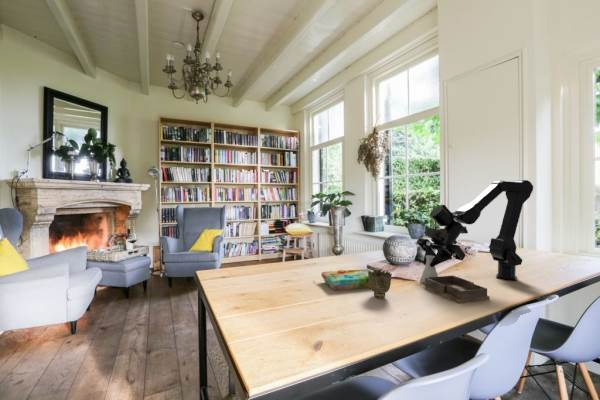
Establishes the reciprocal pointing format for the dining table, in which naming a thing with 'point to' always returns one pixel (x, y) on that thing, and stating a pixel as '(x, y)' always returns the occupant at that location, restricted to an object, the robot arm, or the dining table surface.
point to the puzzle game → (347, 279)
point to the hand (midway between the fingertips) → (427, 265)
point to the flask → (428, 269)
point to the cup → (379, 282)
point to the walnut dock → (456, 289)
